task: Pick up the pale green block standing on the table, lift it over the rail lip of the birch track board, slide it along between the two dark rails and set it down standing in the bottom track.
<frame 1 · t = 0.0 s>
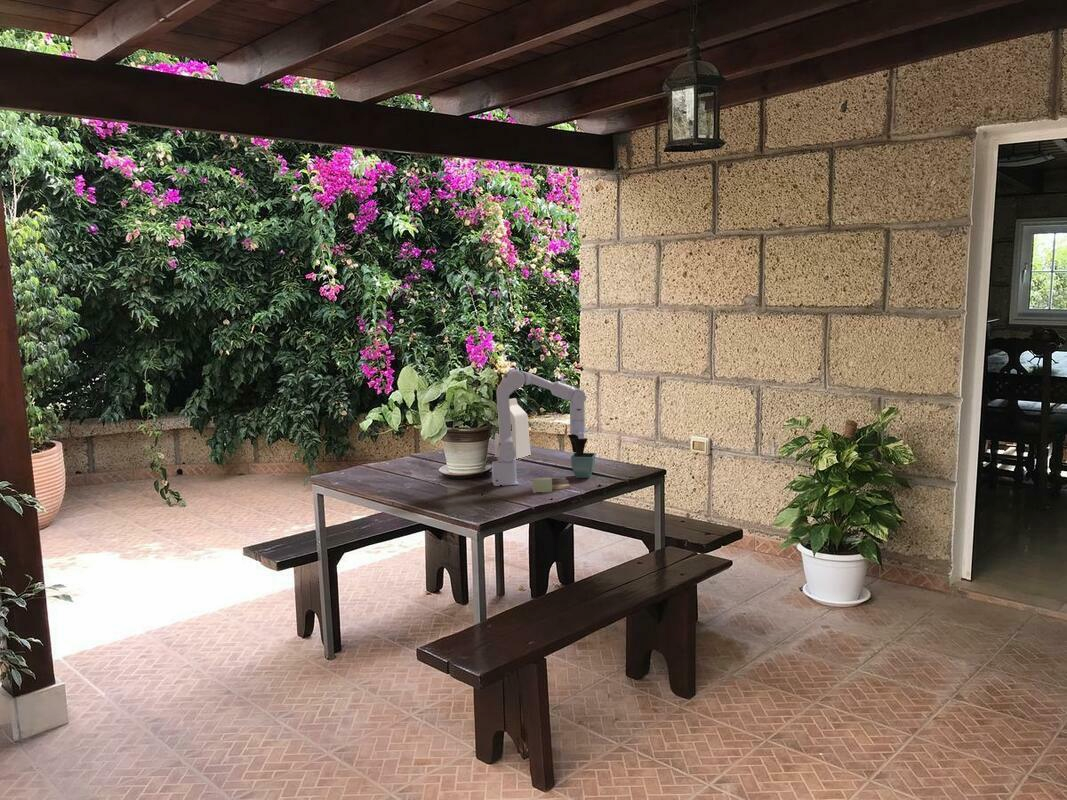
hand: (577, 454, 337), 10 cm above the table, tool pointing down, fingers open, 7 cm apart
pale green block: (542, 491, 320), on the table
track board: (554, 485, 329), on the table
milk: (512, 457, 387), on the table
flower pot: (583, 477, 343), on the table
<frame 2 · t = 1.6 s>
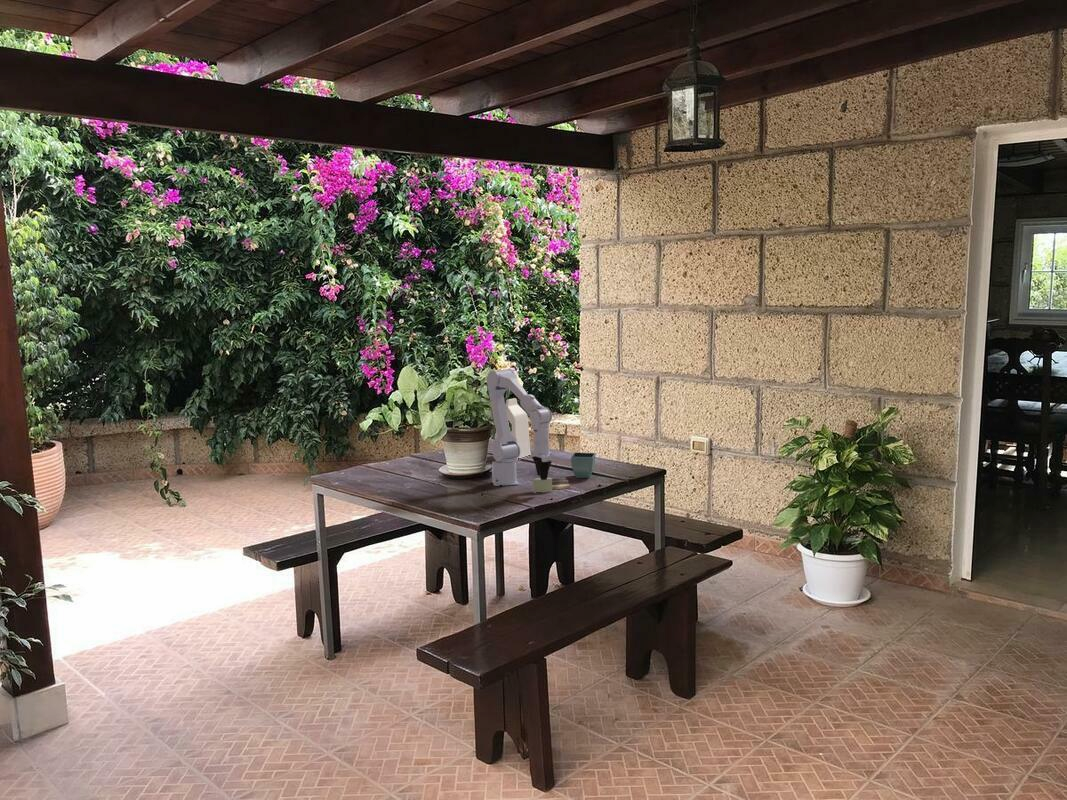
hand: (542, 477, 319), 5 cm above the table, tool pointing down, fingers open, 7 cm apart
nothing on the table moved.
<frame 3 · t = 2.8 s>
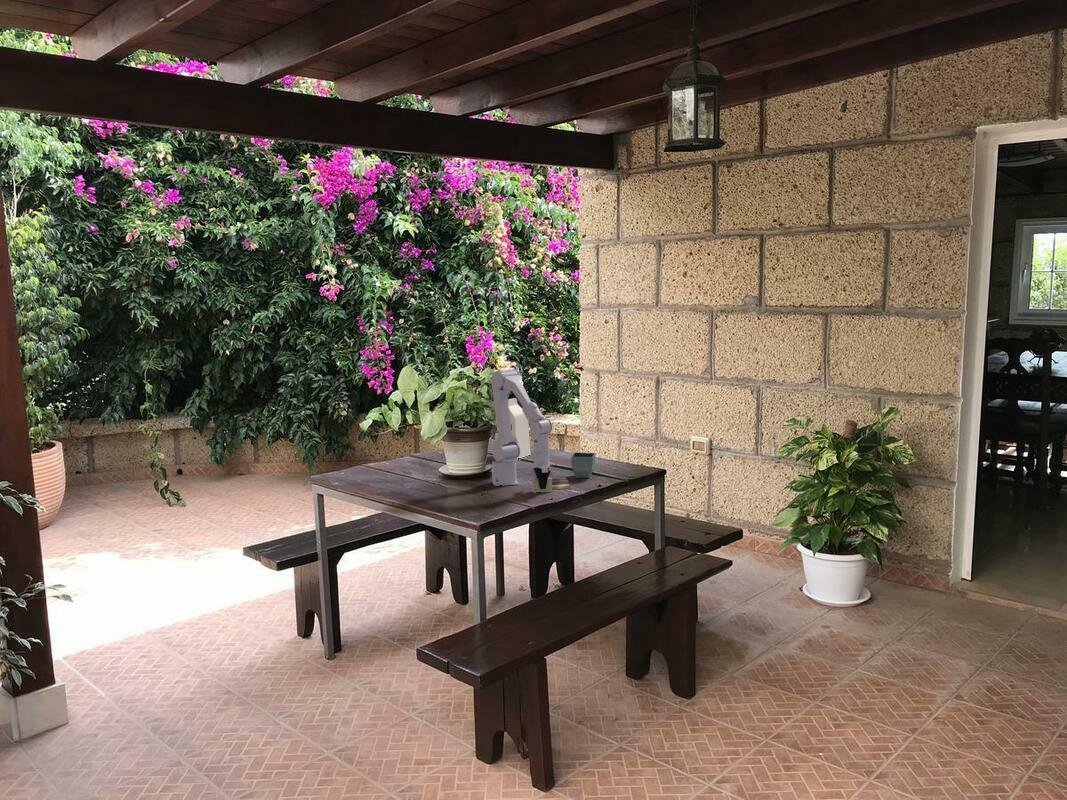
hand: (542, 487, 320), 1 cm above the table, tool pointing down, fingers closed on pale green block, 2 cm apart
pale green block: (542, 491, 320), on the table, touching gripper
everything else where it was.
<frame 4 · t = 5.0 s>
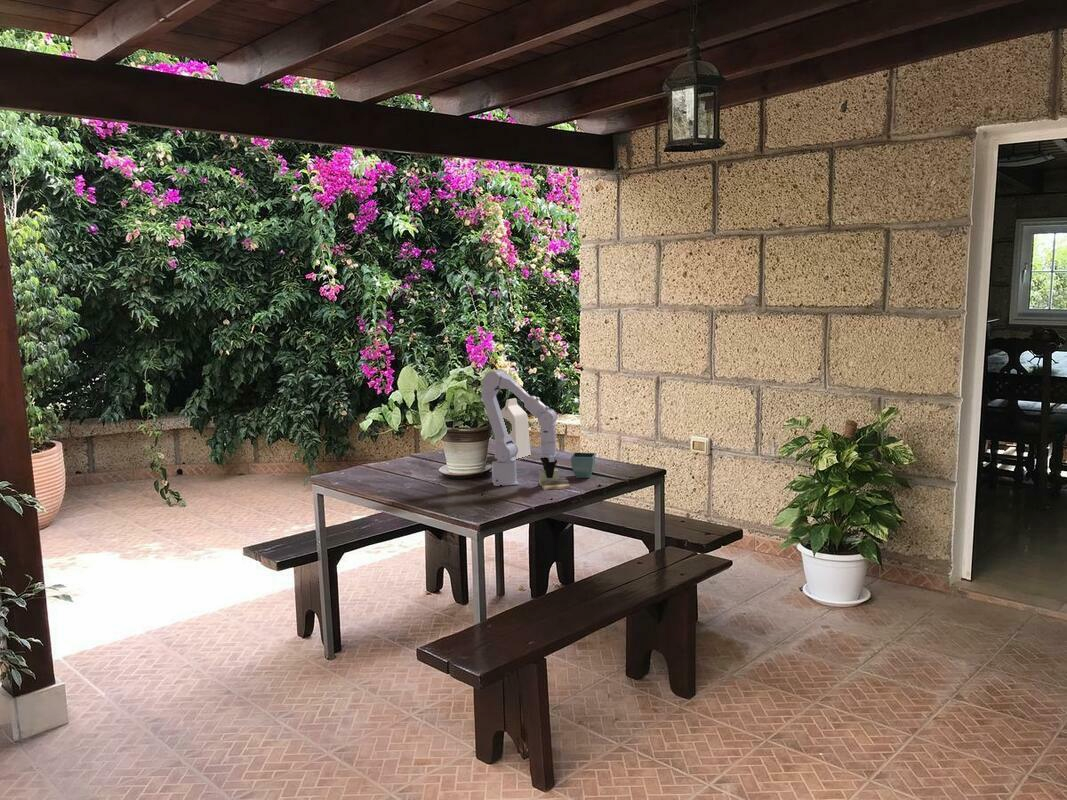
hand: (548, 477, 328), 3 cm above the table, tool pointing down, fingers closed on pale green block, 2 cm apart
pale green block: (549, 483, 329), point 1 cm above the table, touching gripper, track board
everything else where it was.
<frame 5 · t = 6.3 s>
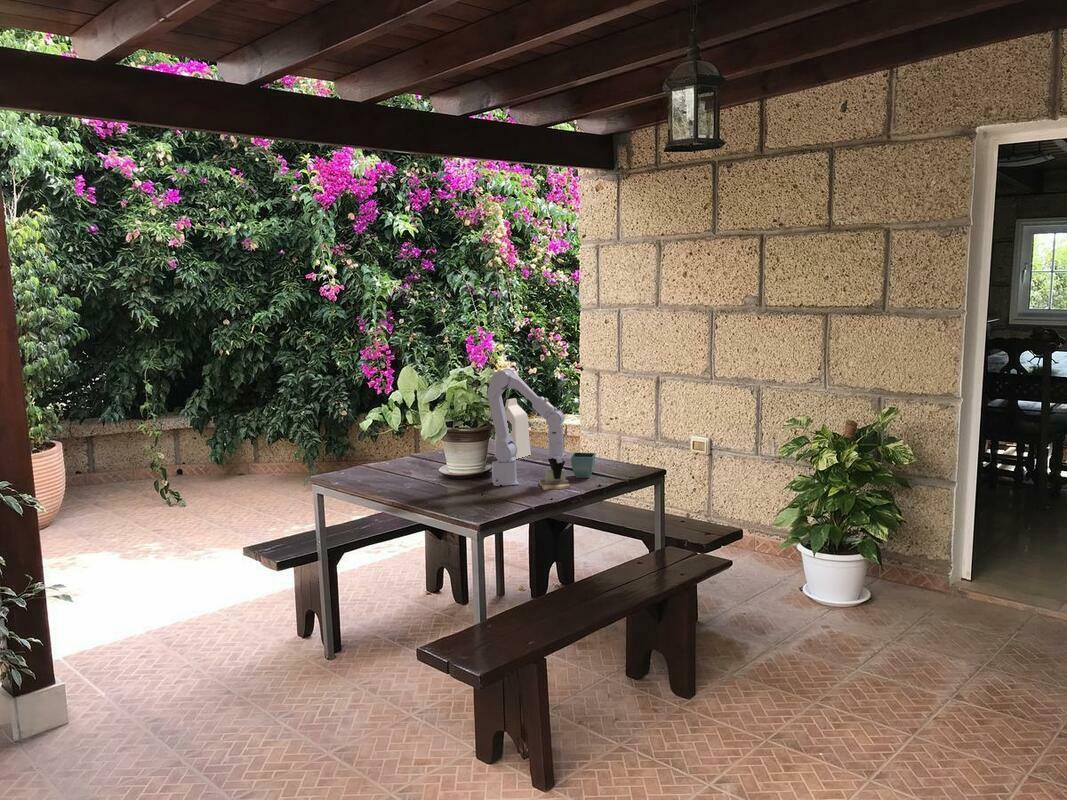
hand: (556, 477, 329), 3 cm above the table, tool pointing down, fingers closed on pale green block, 2 cm apart
pale green block: (555, 482, 329), point 1 cm above the table, touching gripper, track board
everything else where it was.
when the fingers open (3 cm above the table, at t = 6.6 s): pale green block stays where it is, resting on track board.
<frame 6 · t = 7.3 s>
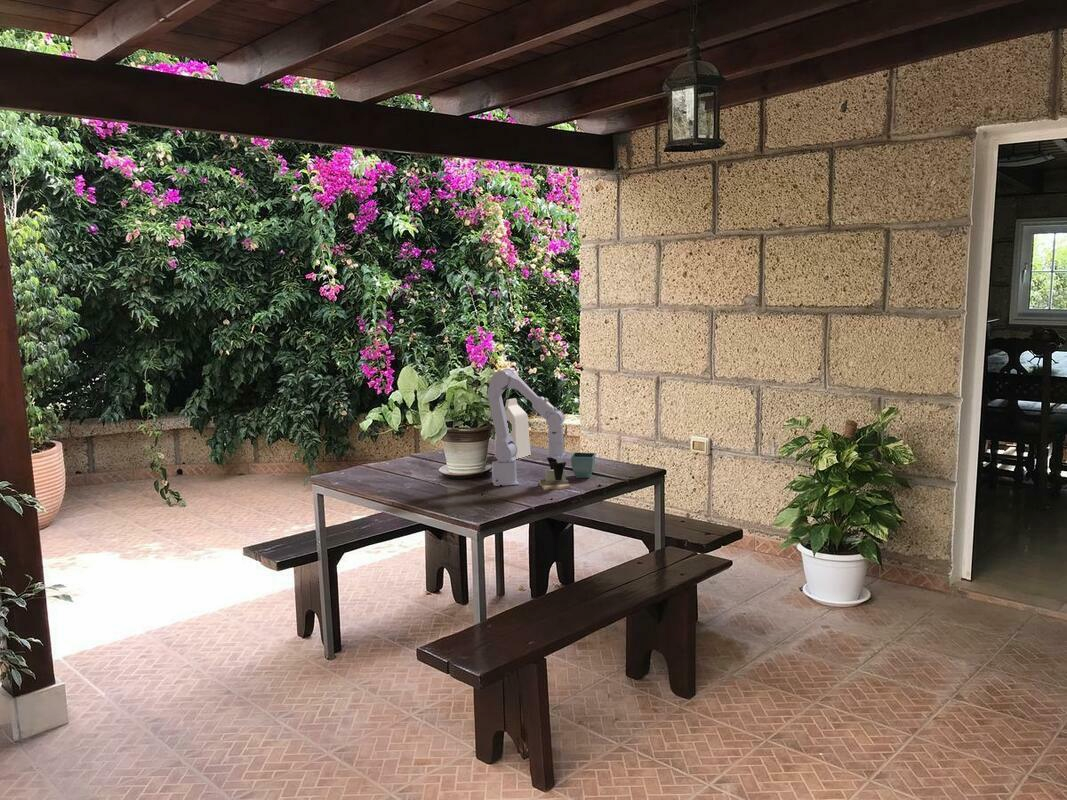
hand: (556, 477, 329), 3 cm above the table, tool pointing down, fingers open, 7 cm apart
pale green block: (555, 482, 329), point 1 cm above the table, touching track board
everything else where it was.
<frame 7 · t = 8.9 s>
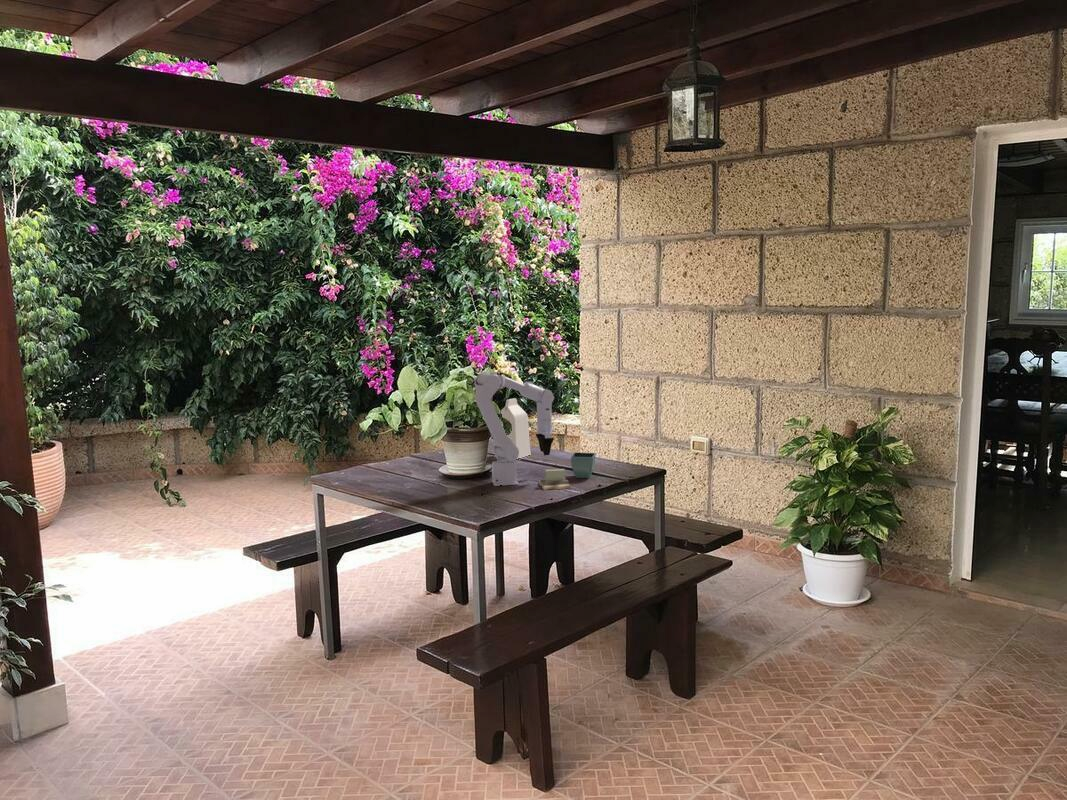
hand: (545, 453, 341), 10 cm above the table, tool pointing down, fingers open, 7 cm apart
nothing on the table moved.
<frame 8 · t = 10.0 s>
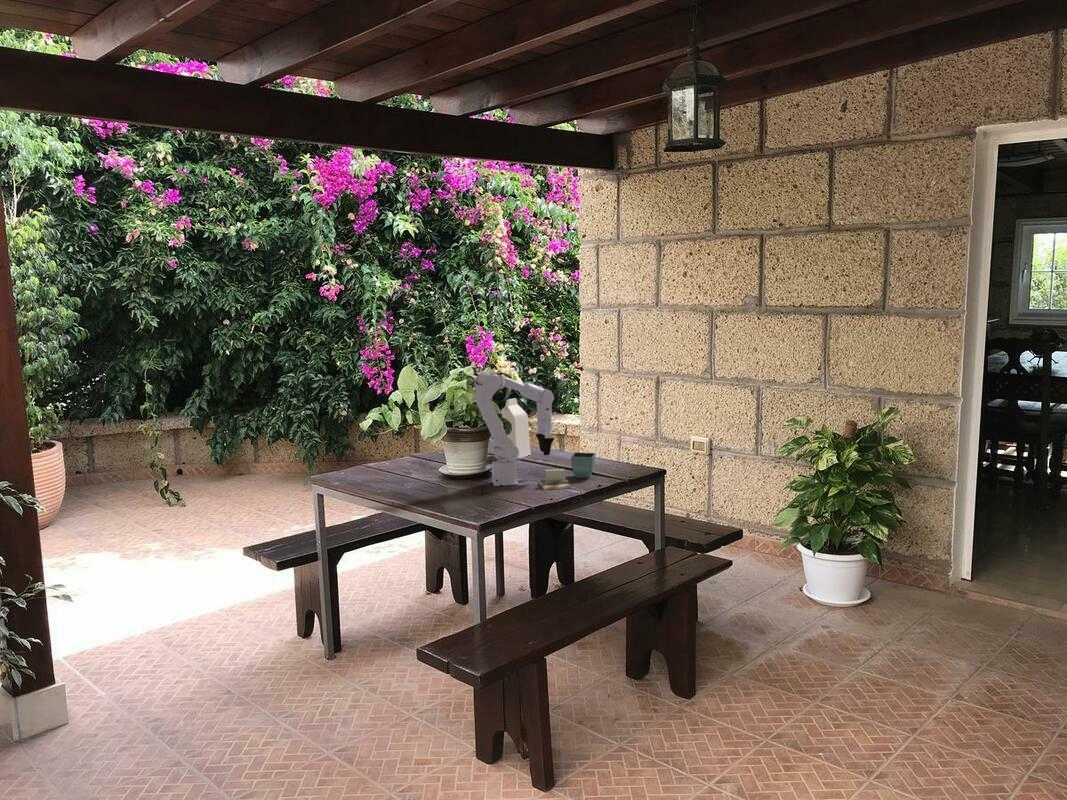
hand: (545, 453, 341), 10 cm above the table, tool pointing down, fingers open, 7 cm apart
nothing on the table moved.
at the end: pale green block 0.0 cm off-centre on the track board, point 1.0 cm above the track board's base; pale green block tilted 0°; the gripper is holding nothing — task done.
